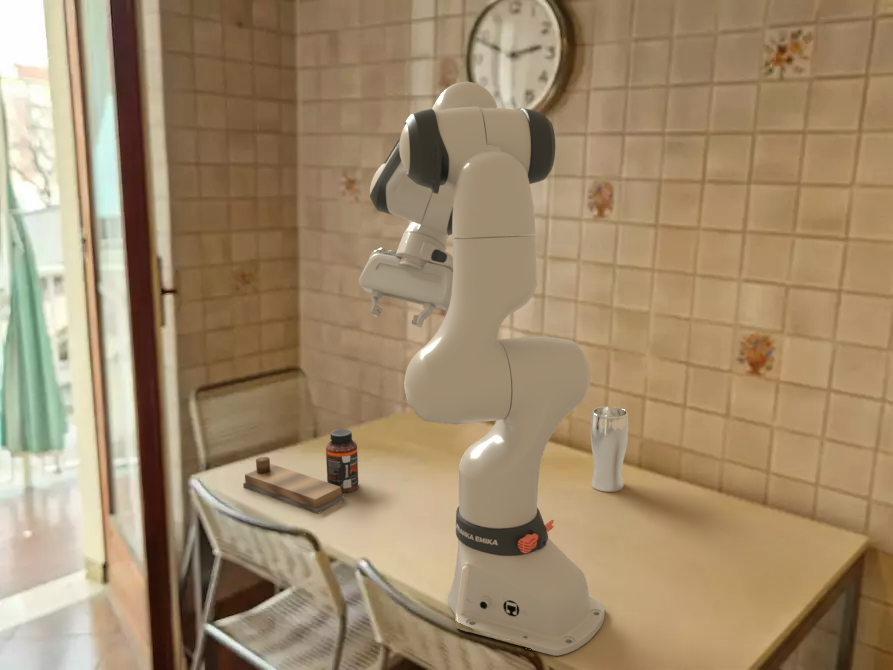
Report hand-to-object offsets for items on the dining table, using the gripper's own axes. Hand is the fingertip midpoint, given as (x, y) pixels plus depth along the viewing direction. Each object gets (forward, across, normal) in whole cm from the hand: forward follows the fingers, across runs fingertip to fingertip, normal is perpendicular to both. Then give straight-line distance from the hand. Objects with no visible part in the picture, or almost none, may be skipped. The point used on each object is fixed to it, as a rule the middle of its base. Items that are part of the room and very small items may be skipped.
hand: (394, 320), depth 159 cm
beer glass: (+16, +43, +24) cm, 52 cm away
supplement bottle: (+33, -2, +8) cm, 34 cm away
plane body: (+37, -9, +3) cm, 38 cm away
